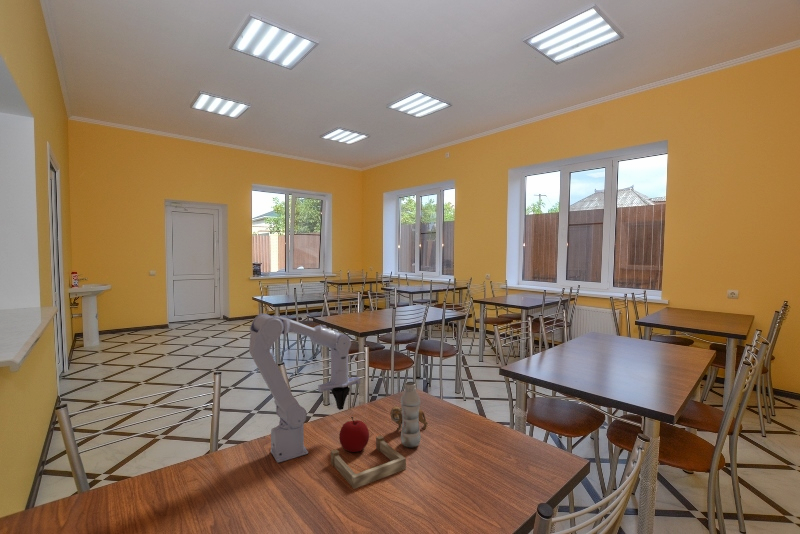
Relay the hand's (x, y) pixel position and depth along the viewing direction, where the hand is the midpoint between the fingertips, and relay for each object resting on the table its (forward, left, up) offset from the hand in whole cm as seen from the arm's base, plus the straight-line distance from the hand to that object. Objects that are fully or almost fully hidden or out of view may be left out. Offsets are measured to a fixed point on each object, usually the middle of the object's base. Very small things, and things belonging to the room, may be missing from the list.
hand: (340, 408), depth 127 cm
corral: (-1, -22, -9) cm, 23 cm away
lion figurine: (+21, -10, -10) cm, 25 cm away
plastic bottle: (+16, -19, -9) cm, 26 cm away
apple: (0, -11, -9) cm, 14 cm away
